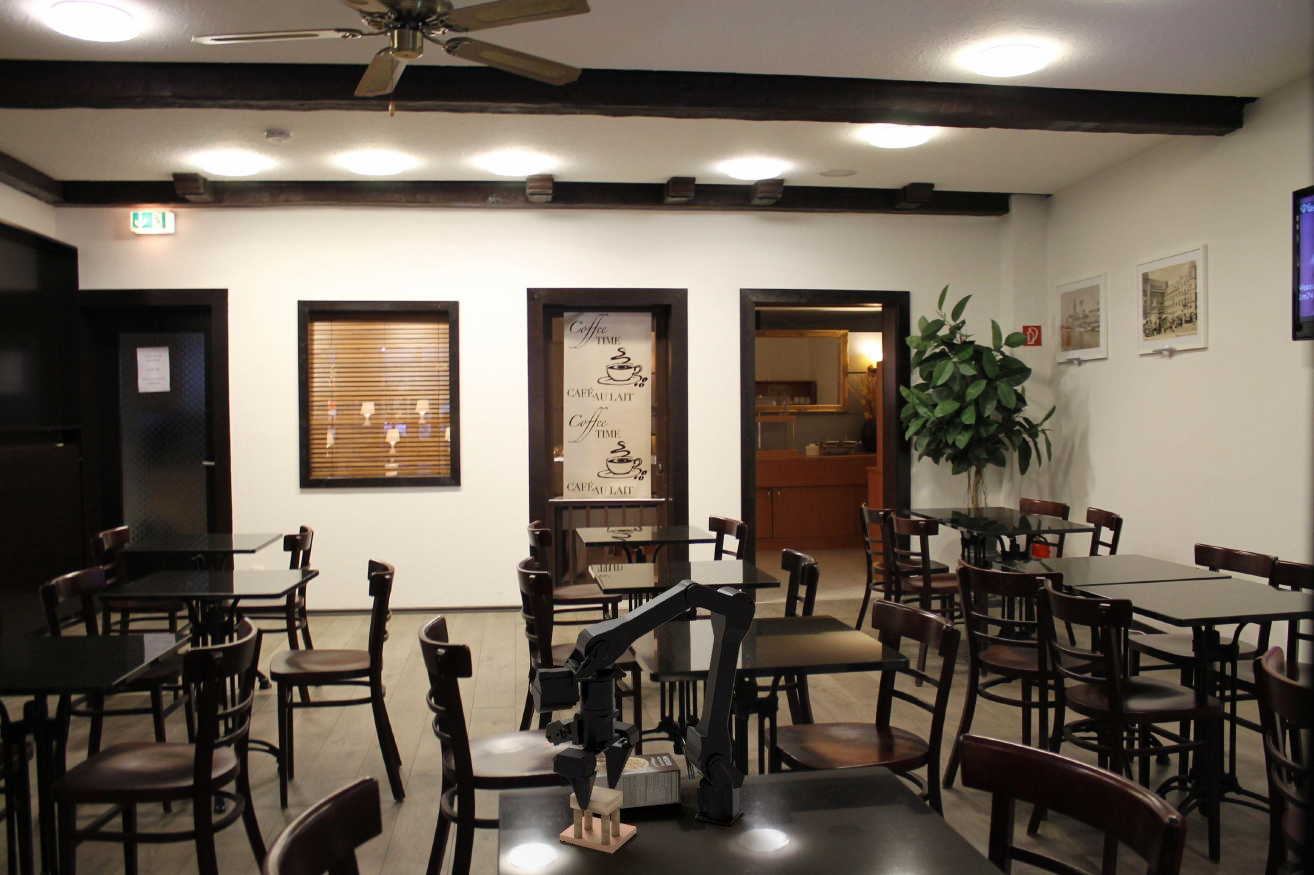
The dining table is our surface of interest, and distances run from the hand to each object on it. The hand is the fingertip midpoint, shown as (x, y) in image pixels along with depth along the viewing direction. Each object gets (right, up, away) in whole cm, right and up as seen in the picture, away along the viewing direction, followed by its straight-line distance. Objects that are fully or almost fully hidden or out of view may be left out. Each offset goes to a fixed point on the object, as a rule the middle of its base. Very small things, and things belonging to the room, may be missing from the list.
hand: (598, 798), depth 148 cm
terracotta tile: (0, -6, 0) cm, 6 cm away
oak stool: (0, -5, -2) cm, 6 cm away
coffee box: (-3, -3, +13) cm, 14 cm away
